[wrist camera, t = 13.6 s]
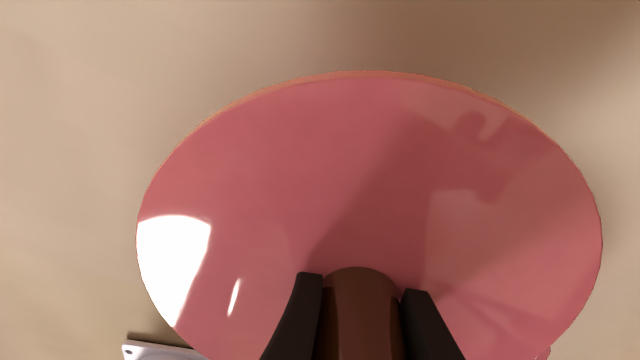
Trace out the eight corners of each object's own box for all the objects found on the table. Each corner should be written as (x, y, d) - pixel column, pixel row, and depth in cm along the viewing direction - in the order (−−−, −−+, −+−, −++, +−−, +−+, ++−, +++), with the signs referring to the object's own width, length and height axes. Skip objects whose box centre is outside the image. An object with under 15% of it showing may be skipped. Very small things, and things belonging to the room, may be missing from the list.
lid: (476, 397, 16) (537, 621, 10) (168, 351, 15) (77, 559, 10) (695, 113, 8) (1228, 383, 3) (123, 14, 8) (-266, 144, 3)
